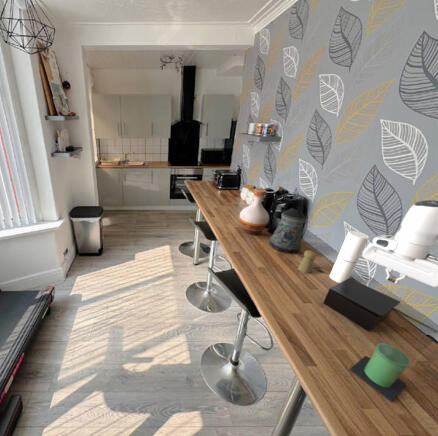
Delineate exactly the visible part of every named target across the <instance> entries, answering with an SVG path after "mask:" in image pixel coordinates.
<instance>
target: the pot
mask: <svg viewBox="0 0 438 436" xmlns="http://www.w3.org/2000/svg"><path fill="white" fill-rule="evenodd" d="M369 358H370V360H369V362H368V363H367V365H366V366H365V368H364V371H365V373H366V375H367V376H368V377H369V378H370V379H371V380H372V381H373V382H375V383H376V384H378V385H380V386H382V387H386V388H390V387H392V386H393V384H394V383H395V381H396V380H397V379H399V377H400V376H401V374H403V373H404V371H405V369H407V368H409V367H410V365H411V360H410V358H409V357H408V356H407V354H405V353H404V351H402V350H401V349H400V348H398V347H395V346H393V345H392V344H388V343H384V342H380V343H377V344H376V346H375V350H374V352H373V354H372V355H371V357H369Z"/></svg>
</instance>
